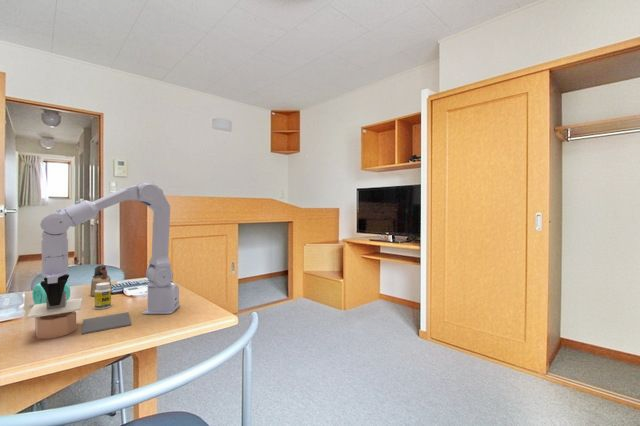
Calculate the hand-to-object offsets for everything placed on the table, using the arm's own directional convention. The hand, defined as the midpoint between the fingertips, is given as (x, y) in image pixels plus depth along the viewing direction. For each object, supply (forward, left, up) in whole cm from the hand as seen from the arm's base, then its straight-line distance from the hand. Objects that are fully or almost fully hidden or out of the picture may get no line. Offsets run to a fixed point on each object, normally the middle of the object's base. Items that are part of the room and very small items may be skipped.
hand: (55, 303), depth 89 cm
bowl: (0, 0, -8) cm, 8 cm away
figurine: (+10, -37, -9) cm, 39 cm away
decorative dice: (+20, -25, -9) cm, 33 cm away
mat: (-10, -6, -8) cm, 15 cm away
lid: (0, 0, -2) cm, 2 cm away
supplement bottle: (0, -21, -9) cm, 23 cm away
